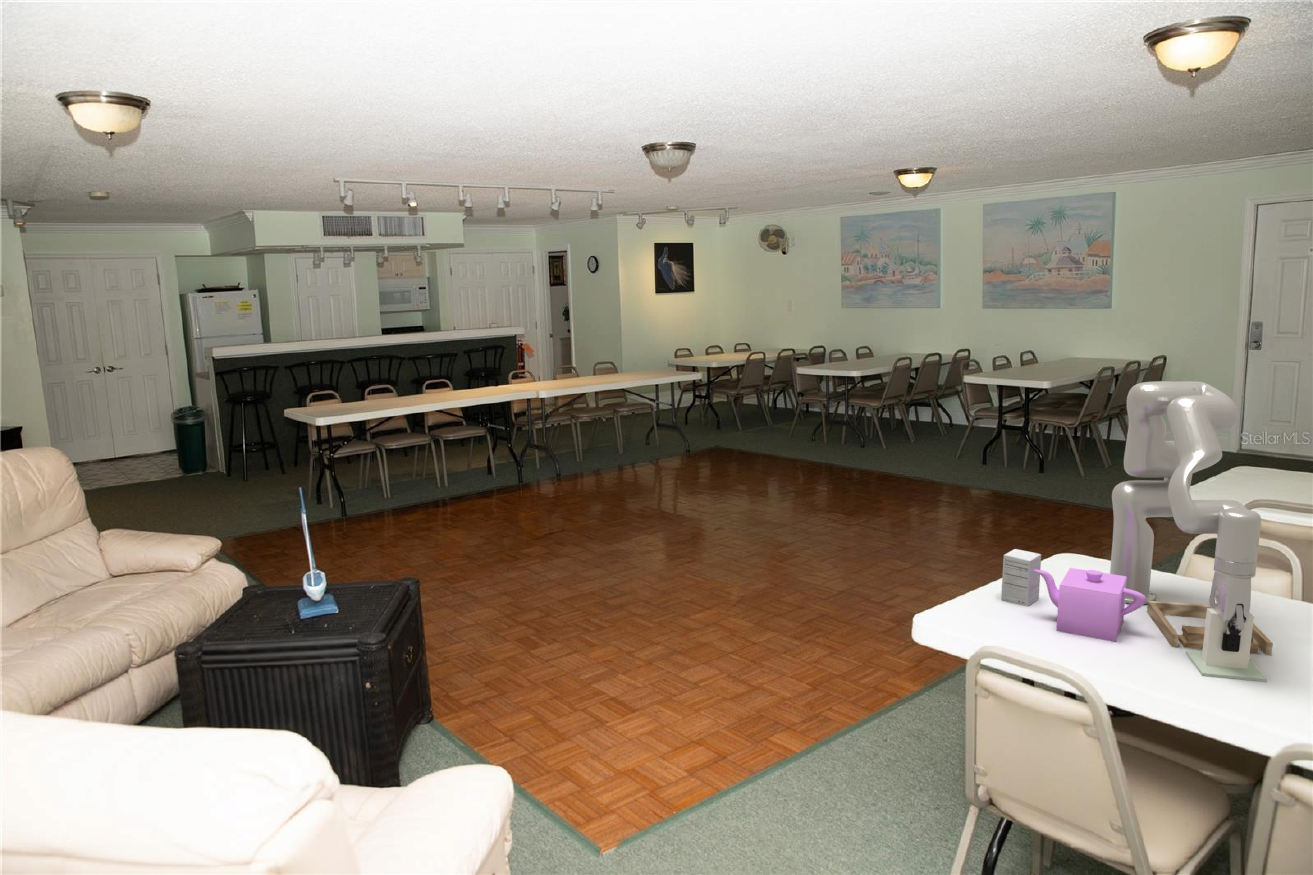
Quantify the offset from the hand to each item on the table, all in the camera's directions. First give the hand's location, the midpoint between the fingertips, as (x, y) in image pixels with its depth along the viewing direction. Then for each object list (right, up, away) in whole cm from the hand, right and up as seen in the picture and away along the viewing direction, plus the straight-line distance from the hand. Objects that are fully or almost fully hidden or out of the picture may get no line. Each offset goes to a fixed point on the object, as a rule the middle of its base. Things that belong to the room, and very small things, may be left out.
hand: (1226, 645), depth 191 cm
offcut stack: (+5, -3, +11) cm, 13 cm away
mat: (0, -5, +1) cm, 5 cm away
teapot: (-19, -1, +25) cm, 31 cm away
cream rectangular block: (0, -4, +1) cm, 4 cm away
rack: (+7, -1, +19) cm, 21 cm away
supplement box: (-28, +2, +42) cm, 51 cm away
